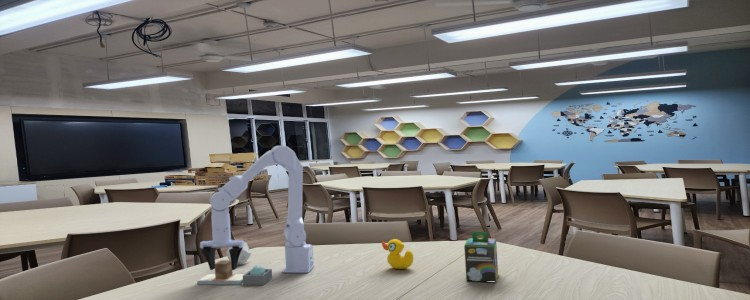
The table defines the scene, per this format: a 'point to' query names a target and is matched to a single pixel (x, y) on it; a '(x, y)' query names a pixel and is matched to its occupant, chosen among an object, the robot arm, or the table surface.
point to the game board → (212, 280)
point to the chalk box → (481, 258)
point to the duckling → (394, 256)
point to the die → (241, 254)
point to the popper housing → (257, 278)
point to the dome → (257, 270)
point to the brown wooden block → (223, 269)
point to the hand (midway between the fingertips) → (223, 269)
